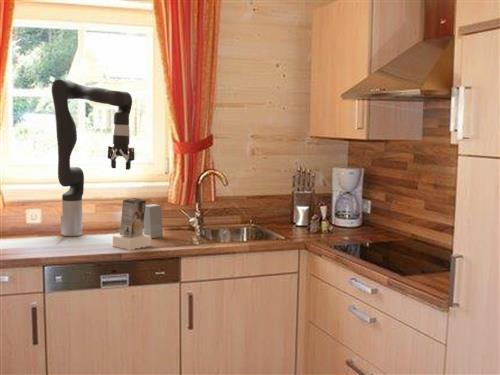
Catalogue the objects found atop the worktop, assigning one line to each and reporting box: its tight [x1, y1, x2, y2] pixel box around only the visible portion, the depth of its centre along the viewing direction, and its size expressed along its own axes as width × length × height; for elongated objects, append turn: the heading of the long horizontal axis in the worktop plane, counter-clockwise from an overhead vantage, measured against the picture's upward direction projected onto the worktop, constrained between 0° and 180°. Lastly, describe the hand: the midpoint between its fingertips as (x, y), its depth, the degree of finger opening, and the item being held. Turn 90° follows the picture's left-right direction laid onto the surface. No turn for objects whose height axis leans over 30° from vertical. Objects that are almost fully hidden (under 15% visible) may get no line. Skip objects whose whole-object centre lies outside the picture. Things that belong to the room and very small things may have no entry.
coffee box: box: [119, 197, 147, 238], centre depth 260 cm, size 9×6×16 cm
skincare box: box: [143, 203, 164, 239], centre depth 283 cm, size 8×7×16 cm
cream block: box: [112, 233, 152, 251], centre depth 261 cm, size 12×12×5 cm
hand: (120, 168), depth 273 cm, fingers open, 8 cm apart
